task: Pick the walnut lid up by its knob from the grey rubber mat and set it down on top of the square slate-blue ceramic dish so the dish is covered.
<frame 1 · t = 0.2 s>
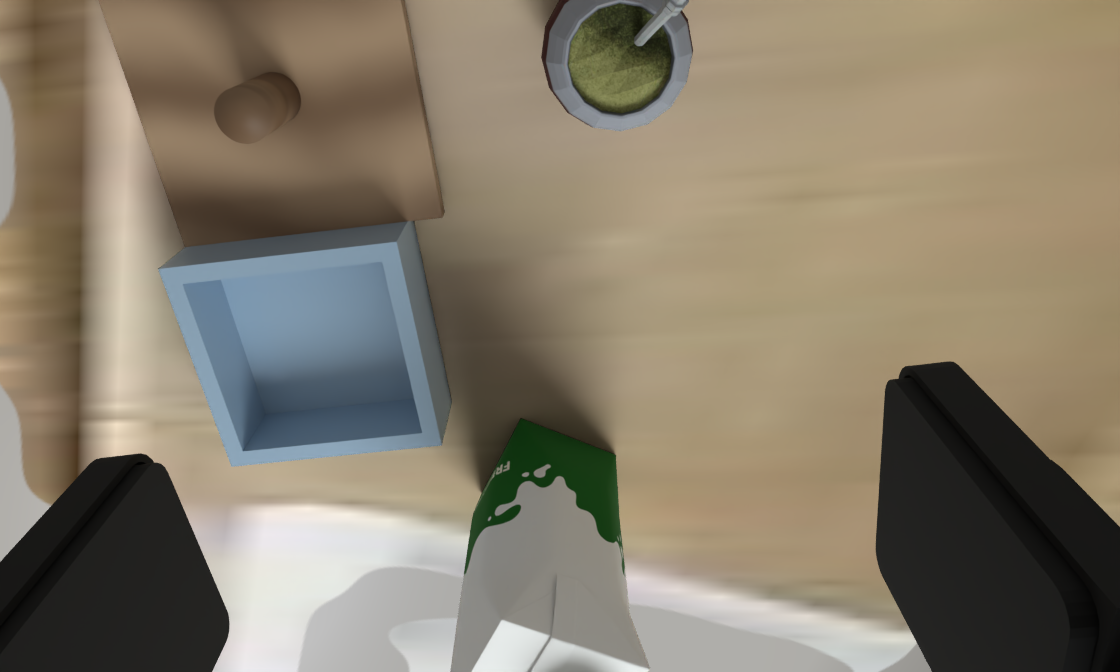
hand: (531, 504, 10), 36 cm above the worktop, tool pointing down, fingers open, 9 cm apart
mate gourd: (612, 31, 42), on the worktop
lid: (282, 94, 42), point 1 cm above the worktop, touching mat
dish: (330, 324, 49), on the worktop
milk carton: (546, 471, 54), on the worktop
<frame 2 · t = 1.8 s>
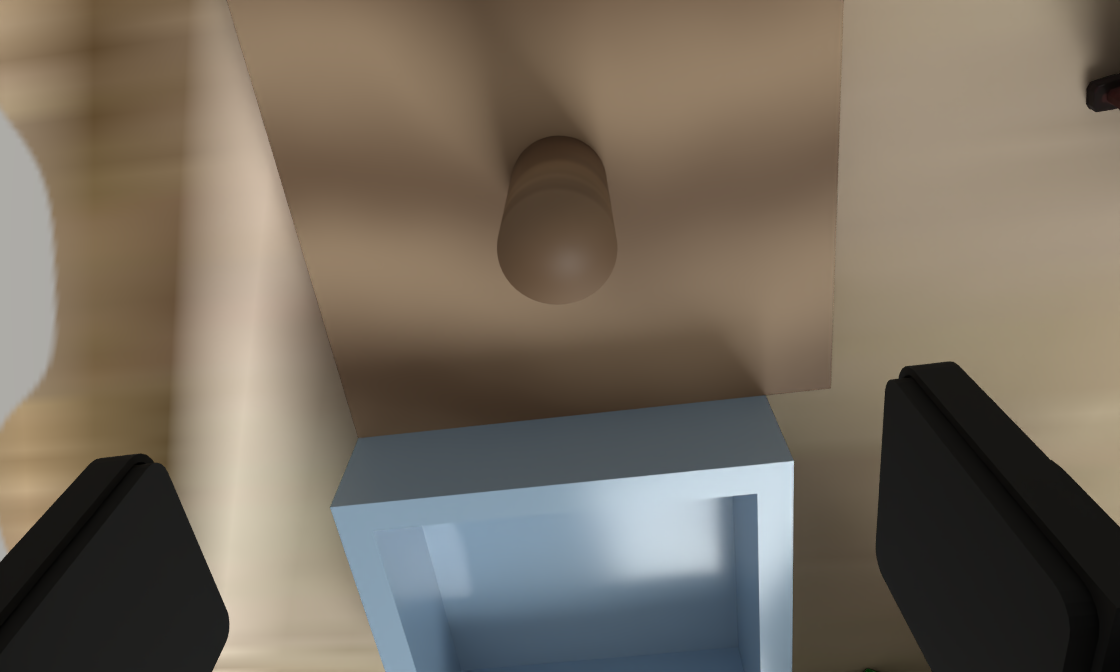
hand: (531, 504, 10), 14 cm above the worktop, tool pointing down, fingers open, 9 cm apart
lid: (559, 173, 22), point 1 cm above the worktop, touching mat
dish: (581, 538, 29), on the worktop
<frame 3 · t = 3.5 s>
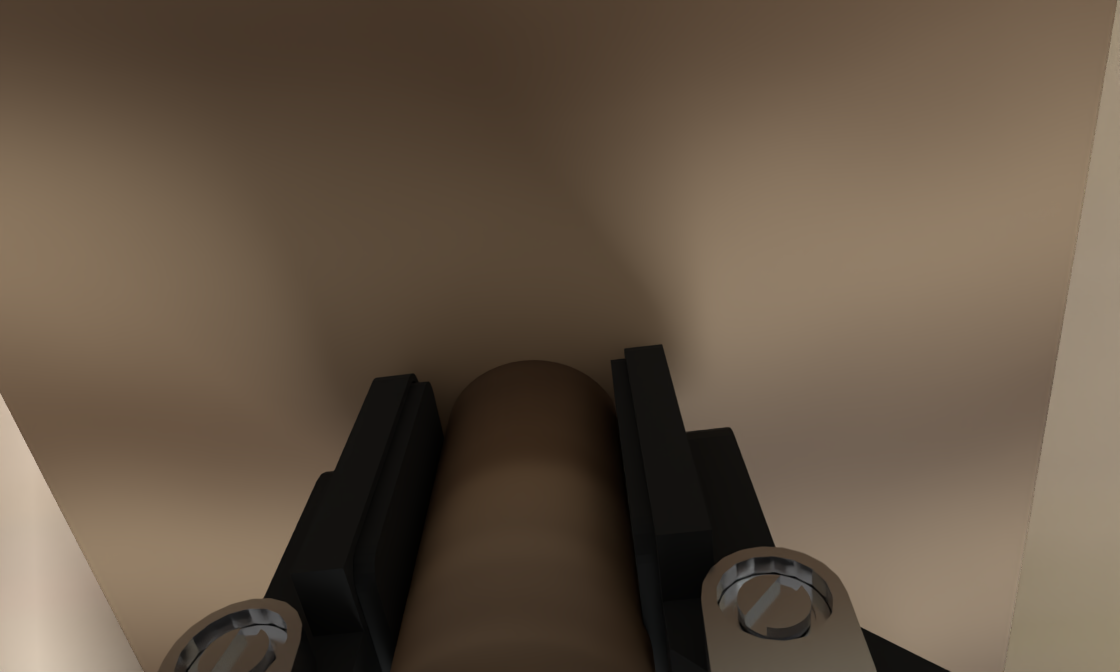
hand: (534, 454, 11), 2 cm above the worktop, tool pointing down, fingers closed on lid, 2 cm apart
lid: (536, 402, 13), point 1 cm above the worktop, touching gripper, mat
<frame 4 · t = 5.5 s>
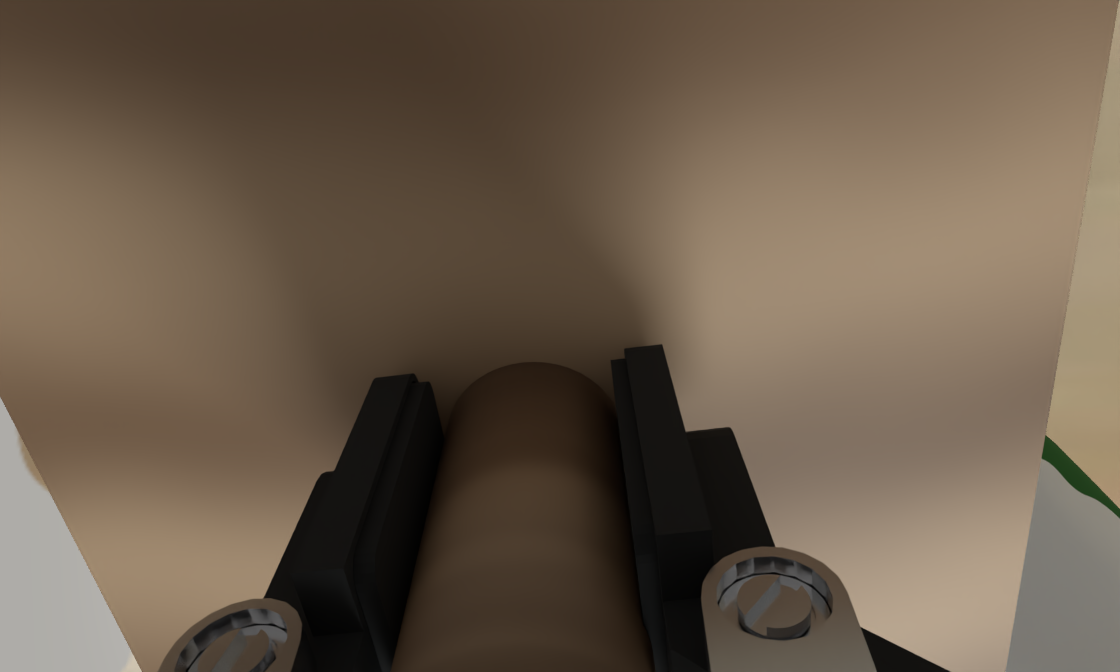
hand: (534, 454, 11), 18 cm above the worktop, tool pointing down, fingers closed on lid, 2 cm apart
lid: (536, 404, 12), point 16 cm above the worktop, touching gripper
milk carton: (883, 435, 33), on the worktop
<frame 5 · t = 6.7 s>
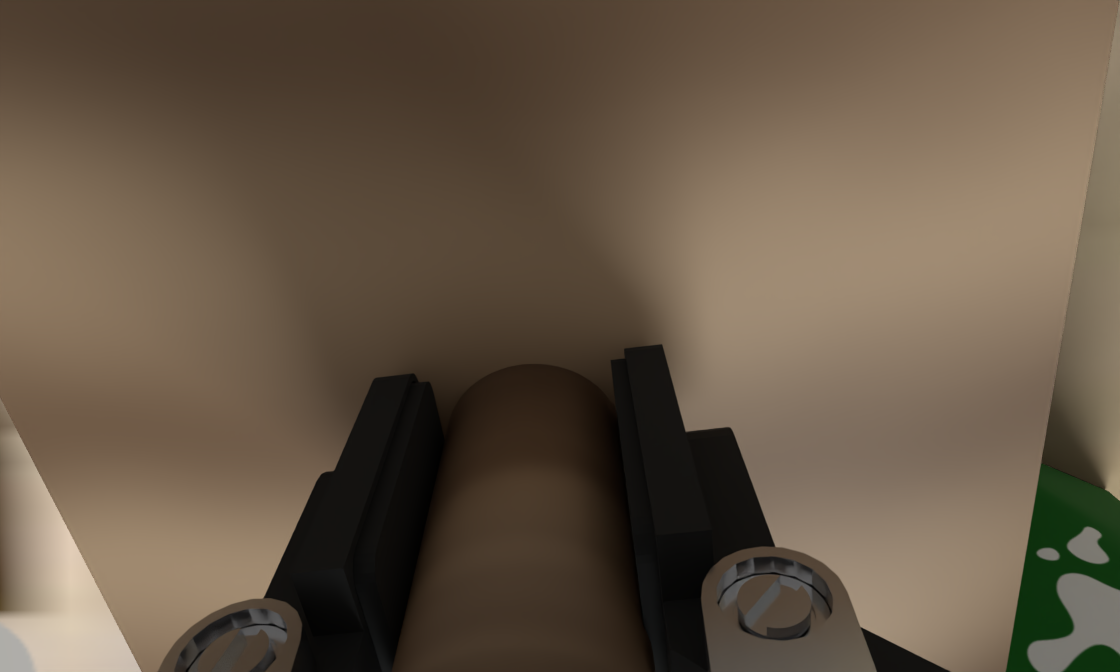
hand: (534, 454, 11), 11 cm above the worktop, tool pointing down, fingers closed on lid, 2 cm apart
lid: (536, 406, 12), point 10 cm above the worktop, touching gripper
milk carton: (950, 525, 27), on the worktop
when the fingers open (8 cm above the worktop, at t = 7.6 s): lid drops 1 cm, resting on dish.
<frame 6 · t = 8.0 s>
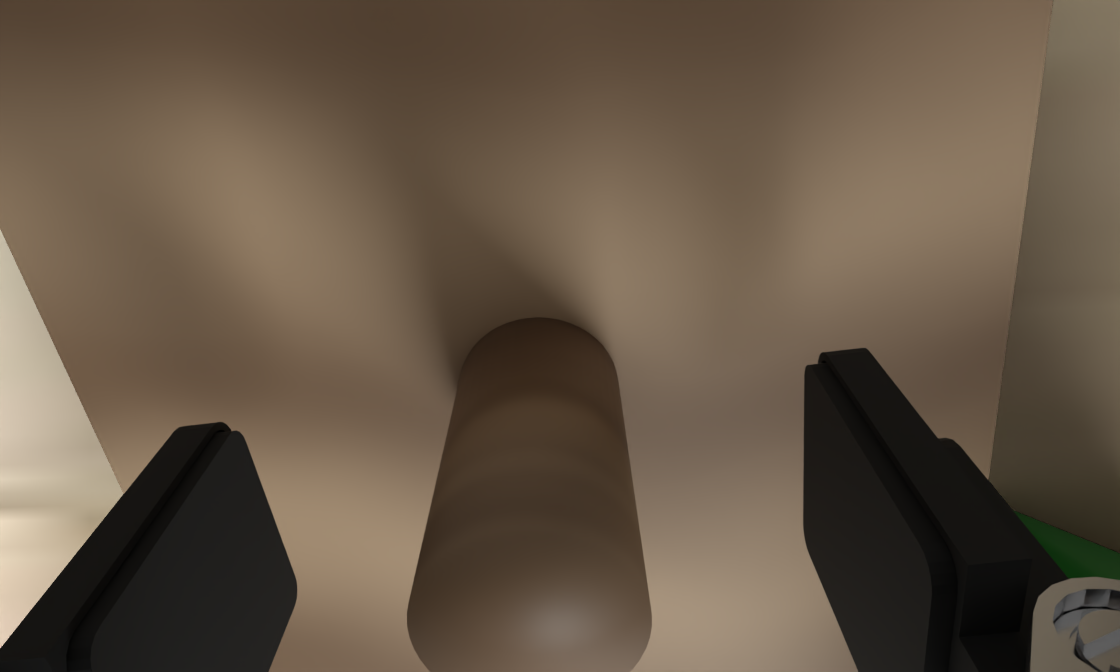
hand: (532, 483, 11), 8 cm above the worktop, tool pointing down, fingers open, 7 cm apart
lid: (540, 360, 14), point 5 cm above the worktop, touching dish
milk carton: (999, 614, 23), on the worktop
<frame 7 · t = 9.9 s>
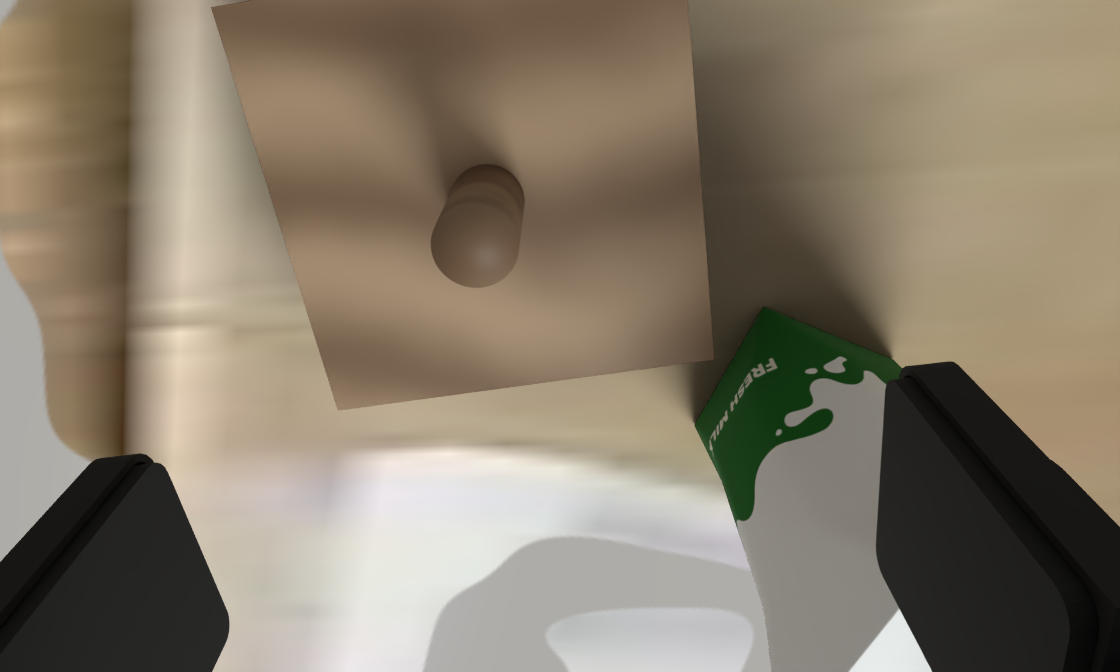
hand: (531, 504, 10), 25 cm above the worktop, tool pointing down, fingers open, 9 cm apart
lid: (489, 193, 29), point 5 cm above the worktop, touching dish
milk carton: (789, 389, 38), on the worktop
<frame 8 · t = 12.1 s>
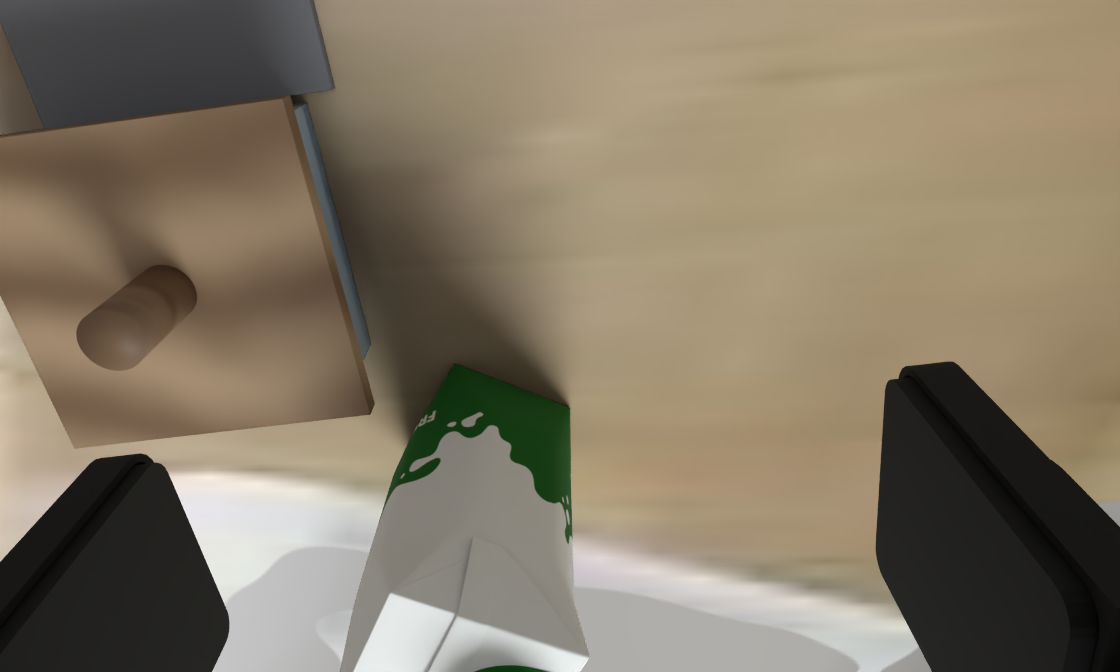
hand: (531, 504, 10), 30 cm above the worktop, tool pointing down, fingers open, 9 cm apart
lid: (177, 283, 36), point 5 cm above the worktop, touching dish
dish: (218, 247, 41), on the worktop
milk carton: (489, 429, 46), on the worktop
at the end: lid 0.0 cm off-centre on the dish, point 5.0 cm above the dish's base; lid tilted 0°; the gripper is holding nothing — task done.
